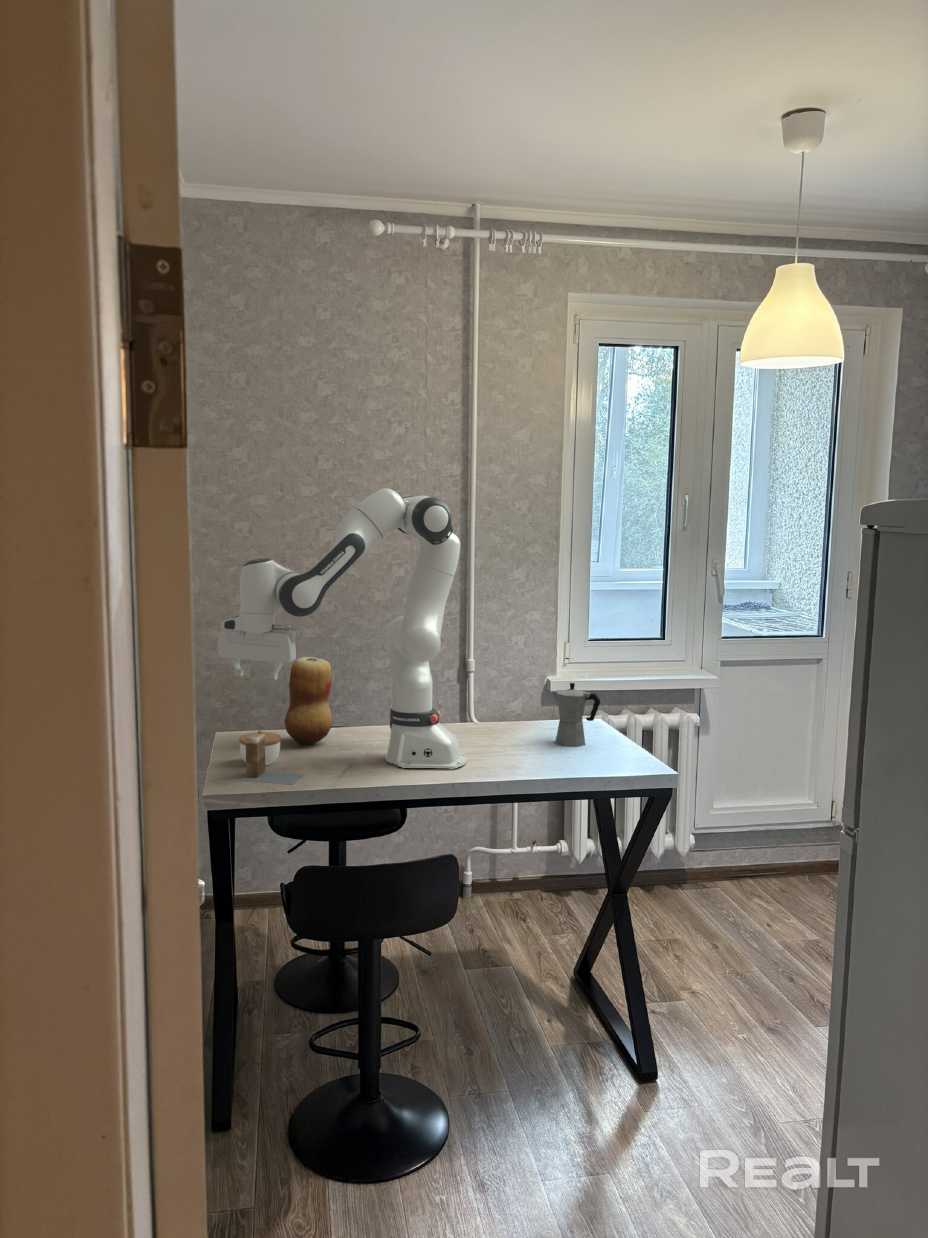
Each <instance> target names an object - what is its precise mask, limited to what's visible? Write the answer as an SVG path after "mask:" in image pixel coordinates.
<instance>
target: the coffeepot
mask: <svg viewBox="0 0 928 1238" xmlns="http://www.w3.org/2000/svg"><path fill="white" fill-rule="evenodd" d="M575 685H576V684H575V682H570V683H569V688H568V689H559V690H552V691H551V692H550V693H551V695H553V697H554V699H555V701H556V703H557V705H558V706H557V707H558V715H559V722H558V727H557V731H556V738H555V743H556V744H557V745H560V746H563V747H581V746H584V745H586V739H585V732H584V730H585V729H584V722H583V717H584V714H585V709H586V708H585V707H586V702H587V701H588V700H589V701H590V700H592V701H594V702H593V704H592V709H591V711H590V717H589V716H586V721H588V722H592V721H594V720H595V717H596V715H597V712H598V709H599V706H600V705H601V699H600V698H599V696H598V695H597V694H596V693H591V692H587V691H584V690H579V689H575Z"/></svg>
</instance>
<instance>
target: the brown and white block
mask: <svg viewBox="0 0 928 1238" xmlns="http://www.w3.org/2000/svg"><path fill="white" fill-rule="evenodd" d="M253 733H254V732H253ZM265 771H266V766H265V734H255V733H254V734H252V735H250V736H249V737H247V738H246V762H245V774H246V775H245V776H246V777H252V778H258V777H259V776H261V775H262V774H264V773H265Z"/></svg>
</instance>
